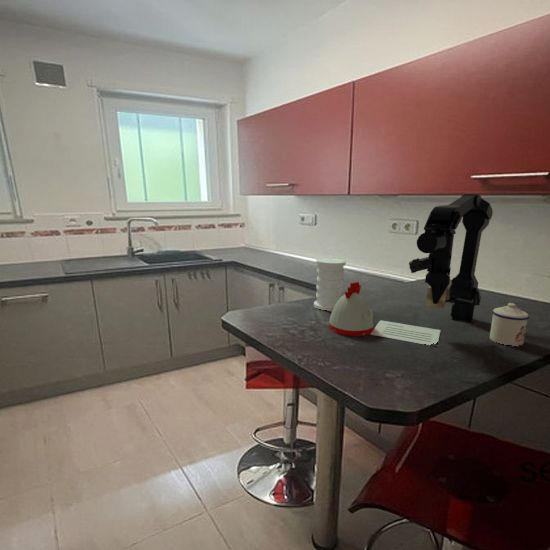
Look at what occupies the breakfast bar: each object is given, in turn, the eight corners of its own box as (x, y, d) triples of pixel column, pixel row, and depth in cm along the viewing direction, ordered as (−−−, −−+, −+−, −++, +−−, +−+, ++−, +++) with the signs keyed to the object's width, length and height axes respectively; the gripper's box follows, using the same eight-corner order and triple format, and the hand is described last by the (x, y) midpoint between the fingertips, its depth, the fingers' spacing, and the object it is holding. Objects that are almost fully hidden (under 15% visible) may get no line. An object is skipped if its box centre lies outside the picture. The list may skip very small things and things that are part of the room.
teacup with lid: (522, 350, 103) (528, 310, 100) (485, 341, 108) (491, 304, 106) (527, 338, 112) (533, 301, 109) (493, 330, 117) (498, 296, 115)
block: (444, 303, 111) (446, 288, 110) (444, 308, 107) (446, 291, 106) (426, 301, 113) (428, 286, 112) (425, 305, 109) (427, 289, 108)
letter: (440, 330, 117) (440, 330, 117) (436, 346, 104) (437, 346, 104) (380, 320, 126) (380, 320, 125) (370, 334, 112) (370, 334, 112)
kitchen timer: (380, 328, 118) (384, 282, 115) (358, 339, 108) (361, 290, 105) (344, 318, 127) (346, 276, 124) (320, 328, 117) (322, 282, 114)
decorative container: (350, 308, 139) (353, 261, 135) (326, 313, 133) (329, 264, 129) (330, 300, 148) (332, 257, 145) (307, 304, 142) (309, 259, 139)
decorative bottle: (451, 302, 149) (453, 287, 148) (432, 300, 153) (433, 284, 152) (459, 289, 170) (461, 275, 169) (442, 287, 174) (443, 274, 173)
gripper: (415, 244, 118) (410, 291, 122) (408, 252, 102) (403, 305, 105) (453, 247, 114) (447, 295, 117) (452, 255, 97) (446, 311, 100)
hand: (435, 301), depth 110 cm, fingers closed on block, 5 cm apart
